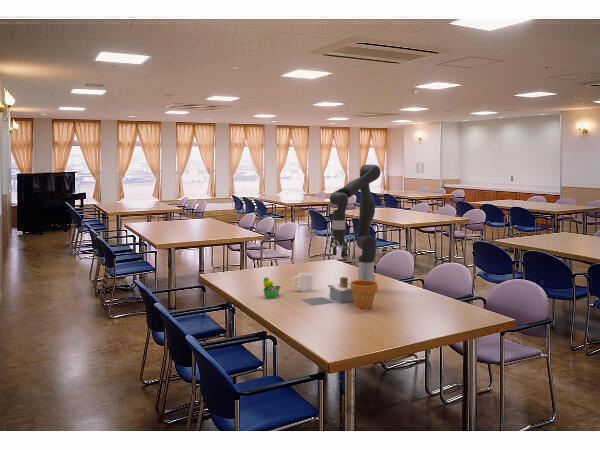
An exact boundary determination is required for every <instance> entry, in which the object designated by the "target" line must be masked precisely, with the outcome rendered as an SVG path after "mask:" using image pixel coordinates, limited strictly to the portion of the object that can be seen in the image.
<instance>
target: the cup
mask: <svg viewBox="0 0 600 450" xmlns="http://www.w3.org/2000/svg"><path fill="white" fill-rule="evenodd" d="M296 279H298V285H296V284H295V280H296ZM292 286H293V287H294V288H295V289H298V291H299V292H302V293H307V292H308V293H309V292H312V291H313V273H311V272H299V273H298V275H296V276H294V277H293V278H292Z"/></svg>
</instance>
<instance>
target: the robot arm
mask: <svg viewBox="0 0 600 450" xmlns="http://www.w3.org/2000/svg"><path fill="white" fill-rule="evenodd" d="M380 176H381V167H380V166H378V164H362V165H361V167H360V168H359V177H358V178H356V179H353V180H351V181H349V182H347V184H346V185H344V186H343V187H342V188H339V189H337V190H335V191H334V192H332V193H331V194H330V196H329V202H330V203H331V205H334V206H337V208H336V209H333V210H332V221H331V222H332V224H331V225H332V226H331V229H332V230H331V234H332V235H331V236H330V241H329V242H330V247H329V248H331V249H332V256H338V255H337V254H338V252H337V251H338V249H337V248H338V247H339V249H340V257H341V258H345V257H346V251H348V250H349V246H348V244H349V242H348V241H349V240H348V239H345V237H347V236H346V233H347V232H346V230H347V228H346V225H347V224H346V211H347V208H348V204H349V198H351V197H353V196H354V195H355V194H356V193H357V192H360V193H359V194H360V195H359V197H360V198H359V215H358V217H359V218H358V231H357V237H356V245H357V247H358V248H359V249H360V250H362V251H361V255H359V256H358V264H357V265H358V266H357V267H358V270H357V272H358V275H357V276H358V277H357V280H369V281H374V282H376V278H375V277H376V275H375V273H374V272H375V271H374V270H375V269H374V268H375V266H374V265H375V258H376V255H377V254H376V253H377V240H376V238H375V237H374V236H372V235H370V227H371V224H372V221H373V219H374V217H375V214H376V201H375V198H374V196H373V193H372V191H371V188H370V184H371V183H372V182H375V181H376V180H378V179H379V178H380Z"/></svg>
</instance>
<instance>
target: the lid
mask: <svg viewBox="0 0 600 450" xmlns="http://www.w3.org/2000/svg"><path fill="white" fill-rule="evenodd" d="M348 279H349V278H348V277H347V276H341V277H339V283H335V284H328V285H327V287H328V288H329V289H330V288H332V289H335V290H337V291H340V292H342V291H350V290H351V283H349V281H348Z"/></svg>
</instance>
